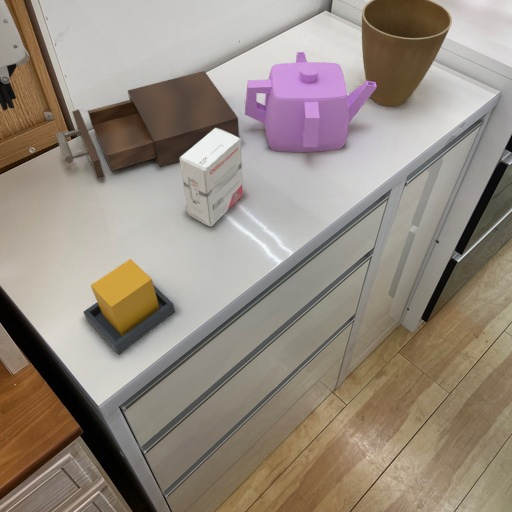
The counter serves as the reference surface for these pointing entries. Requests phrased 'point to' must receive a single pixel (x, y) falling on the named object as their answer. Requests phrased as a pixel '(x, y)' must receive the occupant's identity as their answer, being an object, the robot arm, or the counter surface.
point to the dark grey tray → (123, 342)
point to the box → (126, 296)
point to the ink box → (212, 176)
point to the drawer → (111, 137)
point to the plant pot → (401, 45)
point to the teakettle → (305, 105)
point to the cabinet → (182, 114)
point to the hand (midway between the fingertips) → (7, 104)
